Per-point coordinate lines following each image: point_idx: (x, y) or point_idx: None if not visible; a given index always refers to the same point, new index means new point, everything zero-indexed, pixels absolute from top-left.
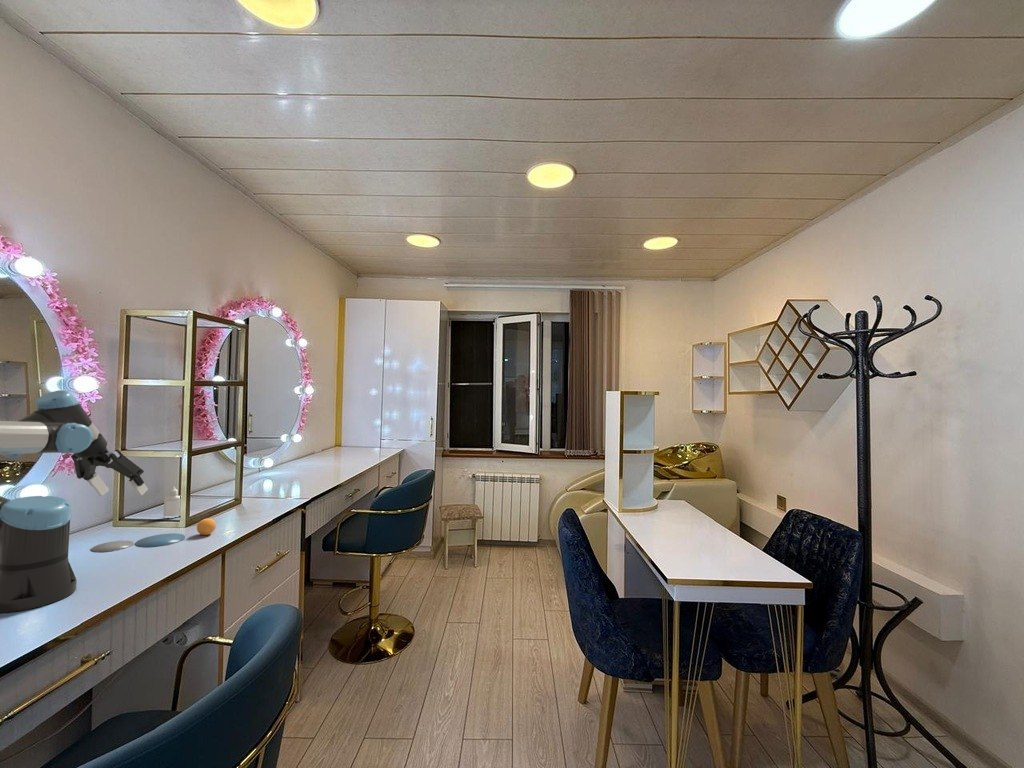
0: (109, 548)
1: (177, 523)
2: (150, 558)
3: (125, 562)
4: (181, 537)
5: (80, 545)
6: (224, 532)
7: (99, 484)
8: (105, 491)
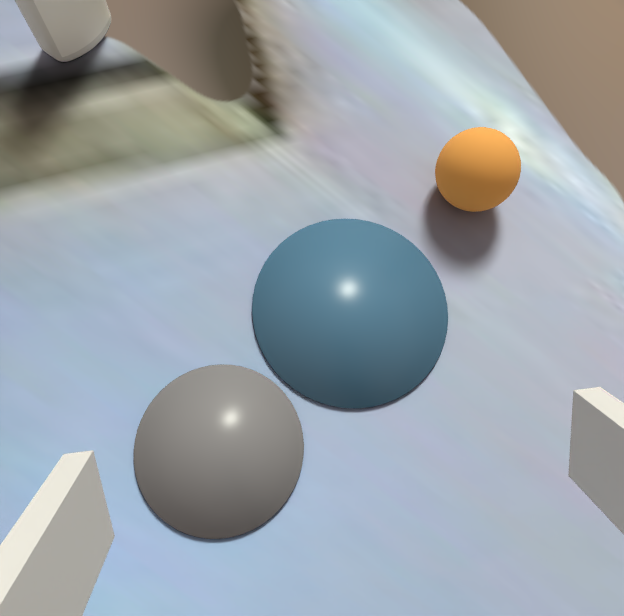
0: (243, 483)
1: (186, 99)
2: (549, 514)
3: (501, 596)
4: (408, 256)
5: None
6: None
7: (46, 604)
8: (98, 500)
